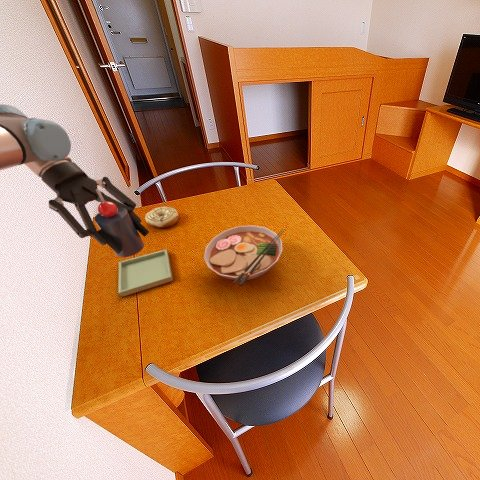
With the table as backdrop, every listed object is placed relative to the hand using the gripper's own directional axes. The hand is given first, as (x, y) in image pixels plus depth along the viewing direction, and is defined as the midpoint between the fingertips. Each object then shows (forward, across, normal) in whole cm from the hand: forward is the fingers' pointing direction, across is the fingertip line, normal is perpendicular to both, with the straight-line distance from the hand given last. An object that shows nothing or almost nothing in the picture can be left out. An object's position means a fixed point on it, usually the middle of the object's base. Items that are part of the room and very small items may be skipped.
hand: (133, 242), depth 70 cm
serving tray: (+7, -1, -14) cm, 16 cm away
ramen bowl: (+25, -17, +3) cm, 31 cm away
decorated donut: (-4, -22, -26) cm, 35 cm away
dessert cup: (0, 0, -5) cm, 5 cm away
